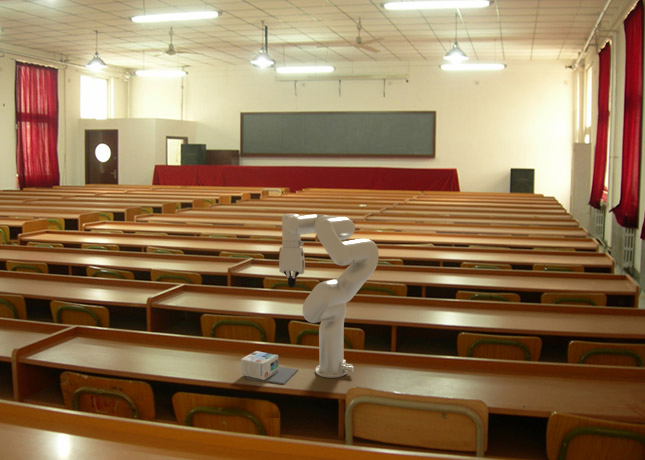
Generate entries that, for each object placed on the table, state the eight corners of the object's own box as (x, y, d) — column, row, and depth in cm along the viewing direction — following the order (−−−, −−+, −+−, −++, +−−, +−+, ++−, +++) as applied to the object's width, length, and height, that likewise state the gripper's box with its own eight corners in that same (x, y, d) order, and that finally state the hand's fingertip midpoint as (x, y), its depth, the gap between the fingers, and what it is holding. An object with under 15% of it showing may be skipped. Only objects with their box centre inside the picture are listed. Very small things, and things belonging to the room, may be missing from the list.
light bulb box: (256, 350, 248) (278, 354, 243) (256, 366, 249) (279, 371, 244) (240, 359, 239) (263, 363, 234) (240, 375, 240) (263, 380, 235)
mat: (297, 370, 246) (297, 369, 246) (284, 384, 233) (284, 383, 233) (261, 365, 251) (261, 364, 251) (245, 378, 238) (245, 377, 238)
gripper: (311, 243, 258) (311, 285, 261) (278, 241, 263) (278, 283, 266) (305, 246, 251) (305, 290, 254) (271, 244, 256) (272, 287, 259)
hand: (292, 286), depth 260 cm, fingers closed
